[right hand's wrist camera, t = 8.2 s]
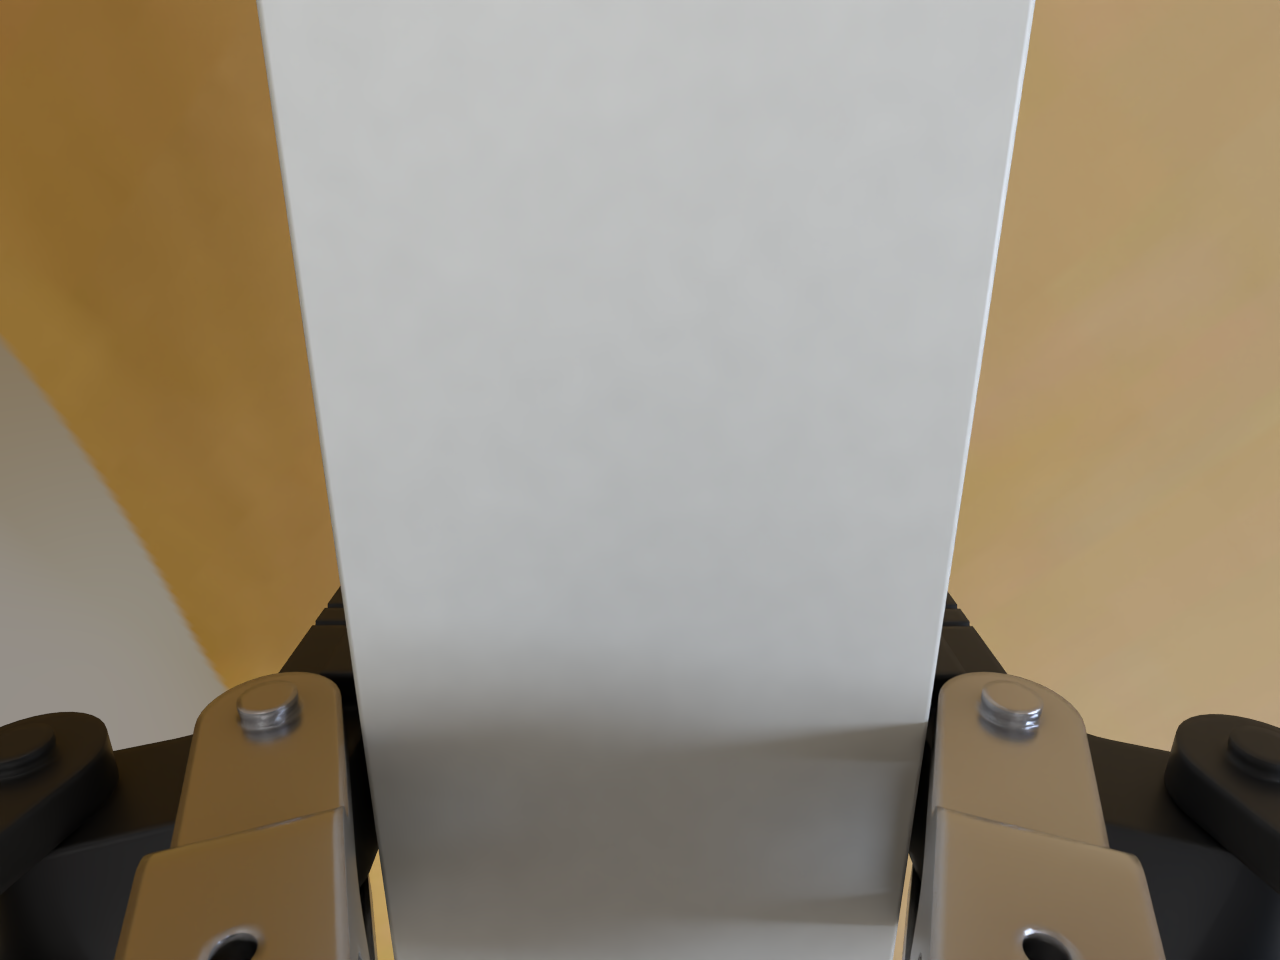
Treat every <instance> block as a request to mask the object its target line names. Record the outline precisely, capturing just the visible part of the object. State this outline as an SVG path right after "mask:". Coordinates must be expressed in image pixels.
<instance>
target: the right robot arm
mask: <svg viewBox="0 0 1280 960" xmlns="http://www.w3.org/2000/svg"><path fill="white" fill-rule="evenodd" d="M377 851H378V842H377V835H376V828H375V821H374V814H373V807H372V800H371V793H370V786H369V779H368V772H367V765H366V758H365V751H364V744H363V737H362V731H361V724H360V717H359V710H358V703H357V696H356V689H355V682H354V675H353V668H352V661H351V654H350V647H349V640H348V633H347V626H346V620H345V613H344V606H343V599H342V592H341V586H340V587H339V589H338V590H337V592H336V593H335V594H334V596H333V597H332V599H331V600H330V601H329V603H328V608H324V610H323V611H322V613H321V614H320V616H319V617H318V618H317V620H316V624H315V625H312V627H311V628H310V630H309V631H308V632H307V634H306V635H305V637H304V638H303V639H302V641H301V642H300V644H299V645H298V646H297V648H296V649H295V651H294V652H293V653H292V655H291V656H290V658H289V659H288V660H287V662H286V663H285V665H284V666H283V667H282V669H281V670H280V672H279V673H277V674H271V675H267V676H263V677H259V678H256V679H253V680H250V681H247V682H245V683H242V684H240V685H237V686H235V687H233V688H232V689H230V690H228V691H226V692H224V693H223V694H221V695H220V696H218V697H217V698H216V699H214V700H213V701H212V702H211V703H210V704H208V706H207V707H206V708H205V709H204V710H203V711H202V712H201V714H200V715H199V717H198V719H197V721H196V724H195V728H194V733H193V735H189V736H185V737H181V738H176V739H172V740H167V741H162V742H157V743H152V744H147V745H142V746H137V747H132V748H127V749H122V750H117V751H113V749H112V746H111V742H110V739H109V735H108V732H107V729H106V726H105V724H104V723H103V722H102V721H101V720H100V719H99V718H97V717H95V716H93V715H89V714H85V713H78V712H58V713H49V714H44V715H38V716H34V717H30V718H26V719H23V720H19V721H16V722H13V723H10V724H7V725H4V726H2V727H0V960H378V958H377V946H376V935H375V923H374V912H373V901H372V891H371V885H370V878H369V872H370V869H371V867H372V864H373V861H374V859H375V856H376V854H377ZM909 855H910V858H911V860H912V863H913V864H912V871H911V877H910V884H909V890H908V899H907V910H906V922H905V933H904V944H903V956H902V960H1280V728H1278V727H1275V726H1272V725H1269V724H1267V723H1263V722H1260V721H1256V720H1252V719H1248V718H1243V717H1238V716H1231V715H1223V714H1208V715H1199V716H1195V717H1191V718H1189V719H1187V720H1185V721H1183V722H1182V723H1181V724H1180V725H1179V727H1178V729H1177V731H1176V735H1175V738H1174V742H1173V745H1172V749H1171V752H1169V751H1164V750H1159V749H1154V748H1149V747H1144V746H1139V745H1134V744H1129V743H1124V742H1119V741H1114V740H1109V739H1105V738H1101V737H1096V736H1093V735H1090V734H1087V733H1086V729H1085V725H1084V722H1083V719H1082V717H1081V716H1080V714H1079V713H1078V711H1077V710H1076V709H1075V708H1074V707H1073V706H1072V705H1071V704H1070V703H1069V702H1068V701H1067V700H1065V699H1064V698H1063V697H1062V696H1060V695H1059V694H1057V693H1055V692H1054V691H1052V690H1050V689H1048V688H1046V687H1044V686H1043V685H1040V684H1038V683H1035V682H1033V681H1030V680H1027V679H1024V678H1021V677H1017V676H1013V675H1009V674H1007V673H1006V672H1005V670H1004V669H1003V668H1002V666H1001V665H1000V663H999V662H998V661H997V659H996V658H995V656H994V655H993V654H992V652H991V651H990V650H989V648H988V647H987V645H986V644H985V643H984V641H983V640H982V638H981V637H980V636H979V634H978V633H977V632H976V630H975V629H974V627H973V626H970V625H969V620H968V619H967V618H966V616H965V615H964V614H963V612H962V611H961V609H957V604H956V603H955V601H954V600H953V598H952V597H951V596H950V594H949V593H948V591H947V597H946V604H945V611H944V618H943V624H942V631H941V638H940V645H939V651H938V658H937V665H936V671H935V678H934V685H933V692H932V698H931V705H930V712H929V718H928V725H927V732H926V739H925V745H924V752H923V759H922V766H921V772H920V779H919V786H918V792H917V799H916V806H915V813H914V819H913V826H912V833H911V840H910V846H909Z"/></svg>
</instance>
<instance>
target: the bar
mask: <svg viewBox="0 0 1280 960" xmlns="http://www.w3.org/2000/svg"><path fill="white" fill-rule="evenodd" d="M256 2H257V9H258V16H259V23H260V30H261V37H262V44H263V51H264V58H265V64H266V71H267V78H268V85H269V92H270V99H271V106H272V113H273V120H274V127H275V134H276V141H277V148H278V155H279V162H280V169H281V175H282V182H283V189H284V196H285V203H286V210H287V217H288V224H289V231H290V238H291V245H292V252H293V259H294V266H295V273H296V280H297V287H298V293H299V300H300V307H301V314H302V321H303V328H304V335H305V342H306V349H307V356H308V363H309V370H310V377H311V384H312V391H313V398H314V404H315V411H316V418H317V425H318V432H319V439H320V446H321V453H322V460H323V467H324V474H325V481H326V488H327V495H328V502H329V509H330V515H331V522H332V529H333V536H334V543H335V550H336V557H337V564H338V571H339V578H340V585H341V592H342V599H343V606H344V613H345V620H346V626H347V633H348V640H349V647H350V654H351V661H352V668H353V675H354V682H355V689H356V696H357V703H358V710H359V717H360V724H361V731H362V737H363V744H364V751H365V758H366V765H367V772H368V779H369V786H370V793H371V800H372V807H373V814H374V821H375V828H376V835H377V842H378V849H379V855H380V862H381V869H382V876H383V883H384V890H385V897H386V904H387V911H388V918H389V925H390V932H391V939H392V946H393V953H394V960H893V954H894V947H895V940H896V934H897V927H898V920H899V913H900V907H901V900H902V893H903V887H904V880H905V873H906V866H907V860H908V853H909V846H910V840H911V833H912V826H913V819H914V813H915V806H916V799H917V792H918V786H919V779H920V772H921V766H922V759H923V752H924V745H925V739H926V732H927V725H928V718H929V712H930V705H931V698H932V692H933V685H934V678H935V671H936V665H937V658H938V651H939V645H940V638H941V631H942V624H943V618H944V611H945V604H946V597H947V591H948V584H949V577H950V571H951V564H952V557H953V550H954V544H955V537H956V530H957V523H958V517H959V510H960V503H961V497H962V490H963V483H964V476H965V470H966V463H967V456H968V449H969V443H970V436H971V429H972V423H973V416H974V409H975V402H976V396H977V389H978V382H979V376H980V369H981V362H982V355H983V349H984V342H985V335H986V328H987V322H988V315H989V308H990V302H991V295H992V288H993V281H994V275H995V268H996V261H997V254H998V248H999V241H1000V234H1001V228H1002V221H1003V214H1004V207H1005V201H1006V194H1007V187H1008V181H1009V174H1010V167H1011V160H1012V154H1013V147H1014V140H1015V133H1016V127H1017V120H1018V113H1019V107H1020V100H1021V93H1022V86H1023V80H1024V73H1025V66H1026V59H1027V53H1028V46H1029V39H1030V33H1031V26H1032V19H1033V12H1034V6H1035V0H256Z"/></svg>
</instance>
